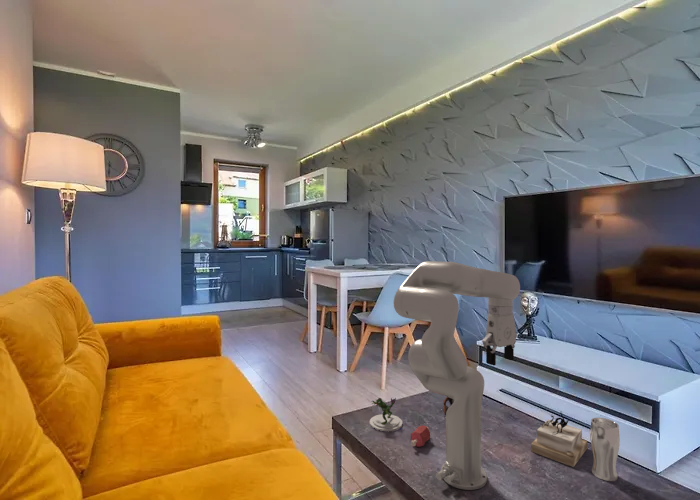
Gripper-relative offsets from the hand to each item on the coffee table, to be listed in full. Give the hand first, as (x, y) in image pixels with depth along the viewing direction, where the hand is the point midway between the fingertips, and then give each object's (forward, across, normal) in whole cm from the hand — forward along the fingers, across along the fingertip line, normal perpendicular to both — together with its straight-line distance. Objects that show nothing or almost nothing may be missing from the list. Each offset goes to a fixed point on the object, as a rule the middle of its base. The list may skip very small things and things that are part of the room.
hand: (500, 361), depth 128 cm
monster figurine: (+27, -23, +31) cm, 47 cm away
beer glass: (+27, +8, -28) cm, 40 cm away
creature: (+20, +9, -13) cm, 26 cm away
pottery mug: (+27, +4, +22) cm, 35 cm away
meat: (+27, -22, +14) cm, 38 cm away
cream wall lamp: (+27, +10, -14) cm, 32 cm away
